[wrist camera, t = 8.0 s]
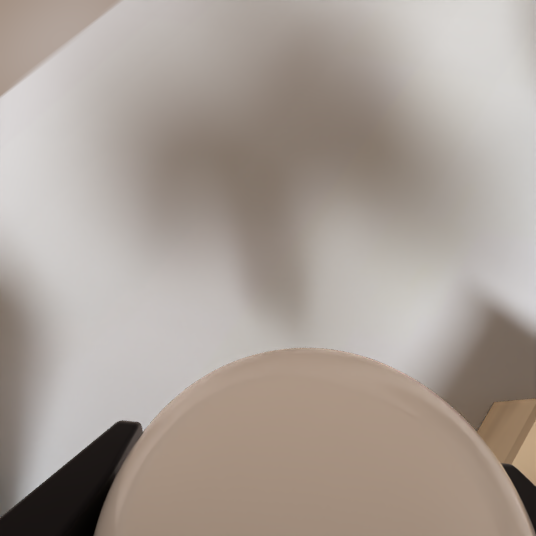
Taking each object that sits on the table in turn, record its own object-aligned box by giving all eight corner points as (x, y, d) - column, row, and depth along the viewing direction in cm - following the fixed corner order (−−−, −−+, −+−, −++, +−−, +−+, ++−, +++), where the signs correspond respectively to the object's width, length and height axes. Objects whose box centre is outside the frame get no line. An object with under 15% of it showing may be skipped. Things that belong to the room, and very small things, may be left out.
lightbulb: (381, 634, 13) (802, 1455, 3) (166, 584, 14) (-194, 1116, 3) (401, 407, 15) (686, 364, 5) (215, 370, 16) (94, 257, 5)
